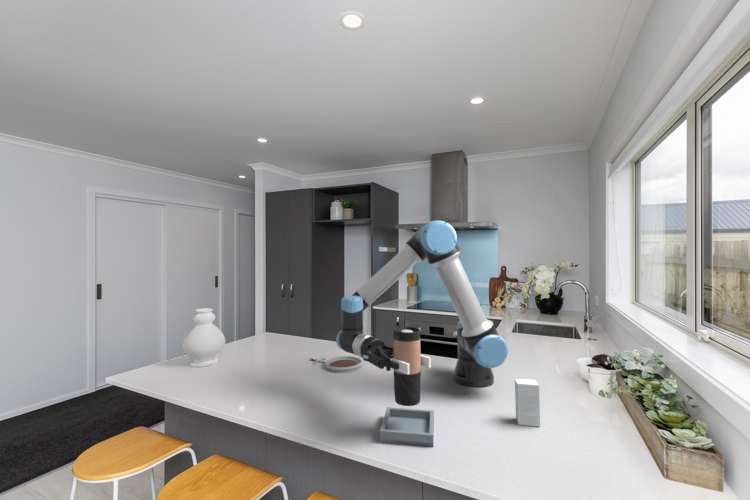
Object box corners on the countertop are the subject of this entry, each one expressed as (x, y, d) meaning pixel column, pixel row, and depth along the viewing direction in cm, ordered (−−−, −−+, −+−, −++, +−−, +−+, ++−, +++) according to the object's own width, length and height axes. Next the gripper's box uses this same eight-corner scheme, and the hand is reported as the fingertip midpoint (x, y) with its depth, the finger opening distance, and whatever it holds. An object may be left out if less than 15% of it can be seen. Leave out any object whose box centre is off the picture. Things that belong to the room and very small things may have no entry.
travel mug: (413, 409, 90) (413, 333, 91) (389, 402, 94) (388, 330, 95) (425, 398, 97) (424, 328, 97) (401, 392, 101) (401, 325, 101)
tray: (433, 420, 101) (433, 410, 101) (433, 447, 87) (433, 435, 87) (387, 417, 104) (387, 407, 104) (379, 442, 90) (379, 430, 90)
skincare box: (536, 420, 101) (536, 379, 101) (540, 427, 97) (539, 385, 97) (515, 418, 102) (514, 378, 102) (517, 425, 98) (516, 383, 98)
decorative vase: (213, 354, 171) (212, 305, 171) (233, 361, 161) (232, 308, 161) (175, 364, 157) (175, 310, 157) (194, 372, 146) (194, 314, 146)
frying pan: (320, 351, 168) (369, 358, 154) (321, 357, 168) (369, 364, 154) (297, 361, 153) (348, 369, 139) (297, 367, 153) (349, 376, 139)
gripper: (393, 353, 116) (444, 371, 98) (342, 366, 104) (391, 389, 86) (392, 331, 116) (444, 345, 98) (342, 341, 104) (390, 359, 86)
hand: (419, 365), depth 92 cm, fingers closed on travel mug, 7 cm apart
